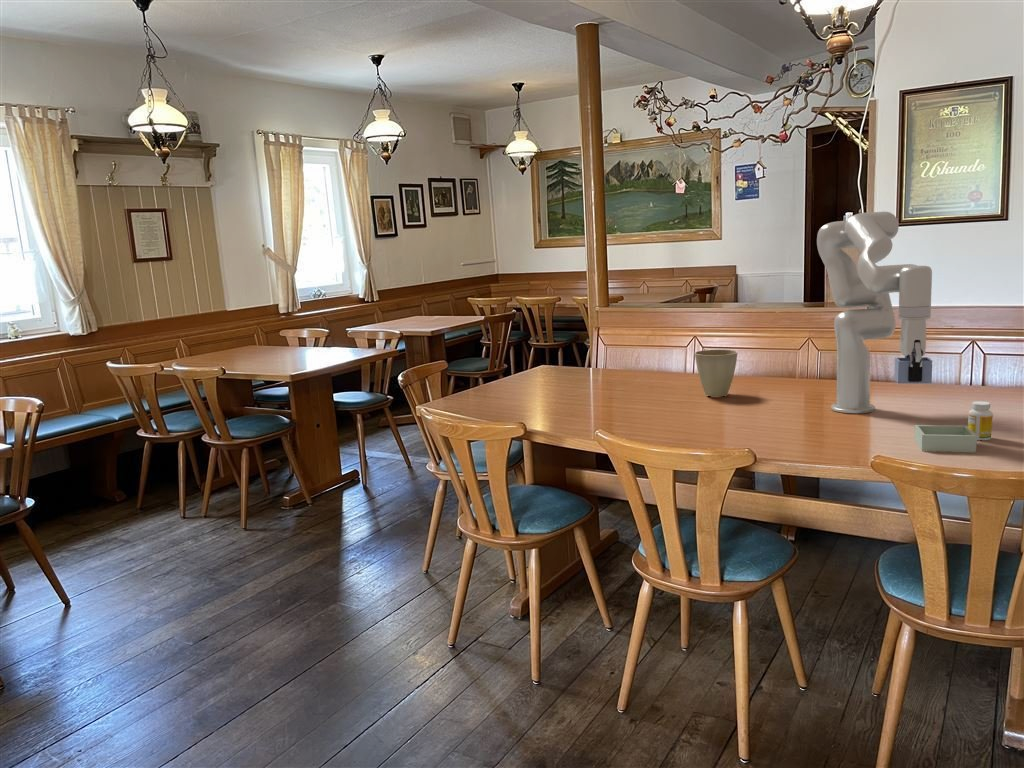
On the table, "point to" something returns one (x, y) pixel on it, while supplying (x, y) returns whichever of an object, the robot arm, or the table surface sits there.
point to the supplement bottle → (980, 420)
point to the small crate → (903, 366)
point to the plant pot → (716, 370)
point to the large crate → (945, 438)
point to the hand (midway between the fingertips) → (912, 378)
